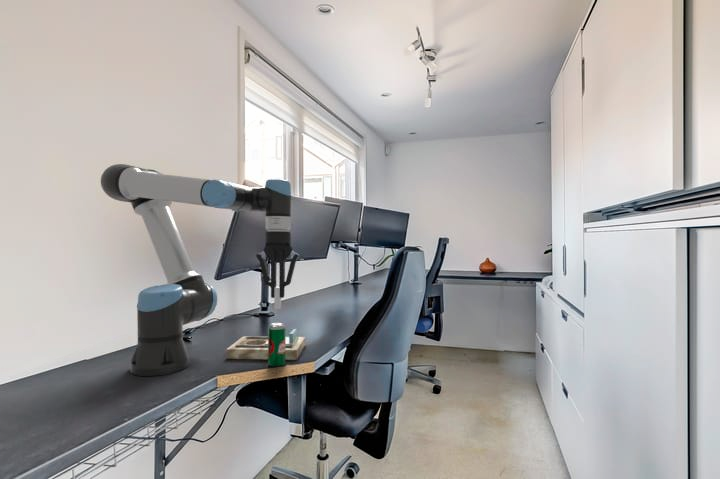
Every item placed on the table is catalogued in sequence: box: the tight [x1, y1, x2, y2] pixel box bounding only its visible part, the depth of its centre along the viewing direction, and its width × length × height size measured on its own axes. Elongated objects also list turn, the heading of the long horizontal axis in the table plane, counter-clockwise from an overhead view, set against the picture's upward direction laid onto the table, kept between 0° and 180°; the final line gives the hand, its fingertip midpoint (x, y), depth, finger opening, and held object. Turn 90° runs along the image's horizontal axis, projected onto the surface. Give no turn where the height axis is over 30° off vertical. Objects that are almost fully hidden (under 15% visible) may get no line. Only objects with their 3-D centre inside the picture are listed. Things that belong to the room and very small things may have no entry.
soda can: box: [267, 322, 287, 368], centre depth 117 cm, size 5×5×12 cm
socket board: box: [226, 335, 306, 361], centre depth 130 cm, size 22×16×4 cm
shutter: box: [265, 328, 299, 347], centre depth 130 cm, size 9×9×4 cm
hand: (277, 308), depth 119 cm, fingers closed
